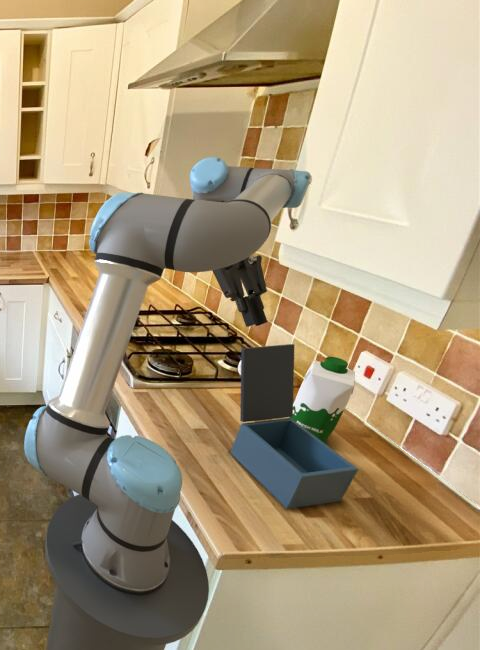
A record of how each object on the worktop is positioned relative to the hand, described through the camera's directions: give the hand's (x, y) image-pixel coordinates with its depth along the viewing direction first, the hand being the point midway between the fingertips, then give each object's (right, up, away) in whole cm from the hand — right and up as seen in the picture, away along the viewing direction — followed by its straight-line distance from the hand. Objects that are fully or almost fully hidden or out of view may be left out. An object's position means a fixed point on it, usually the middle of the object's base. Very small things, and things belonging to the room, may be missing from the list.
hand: (256, 324), depth 94 cm
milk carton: (+18, -27, +8) cm, 34 cm away
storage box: (+3, -33, -4) cm, 33 cm away
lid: (+1, -13, -2) cm, 13 cm away
